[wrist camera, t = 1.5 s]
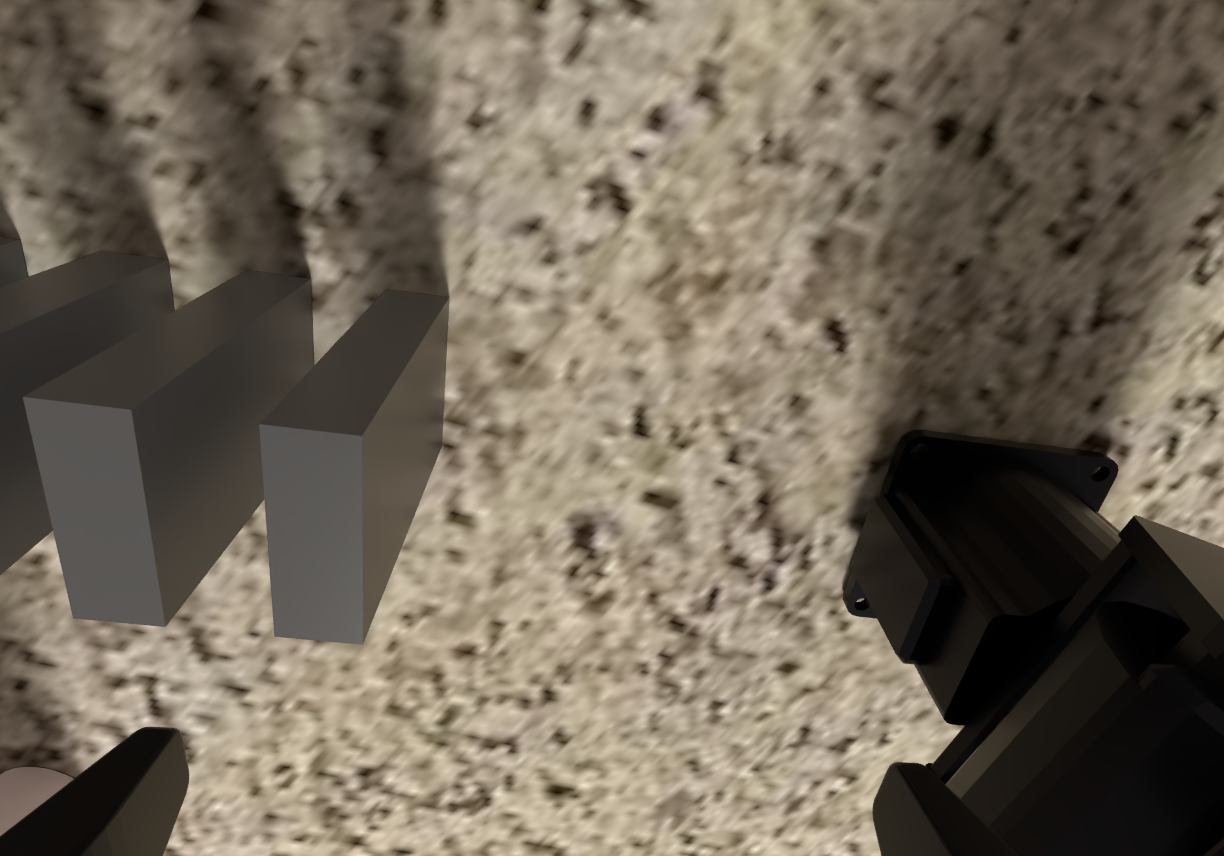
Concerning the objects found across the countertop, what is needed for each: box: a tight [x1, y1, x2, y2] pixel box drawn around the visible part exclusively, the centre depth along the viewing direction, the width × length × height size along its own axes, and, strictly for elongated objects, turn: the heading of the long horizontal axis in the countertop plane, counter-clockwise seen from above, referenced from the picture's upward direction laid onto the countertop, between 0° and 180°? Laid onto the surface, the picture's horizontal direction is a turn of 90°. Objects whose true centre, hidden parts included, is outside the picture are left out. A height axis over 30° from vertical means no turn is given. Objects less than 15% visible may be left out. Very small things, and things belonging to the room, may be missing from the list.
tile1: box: [259, 289, 449, 645], centre depth 16 cm, size 2×4×8 cm, turn 171°
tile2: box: [23, 270, 314, 627], centre depth 16 cm, size 2×4×8 cm, turn 171°
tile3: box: [0, 251, 175, 575], centre depth 15 cm, size 2×4×8 cm, turn 172°
